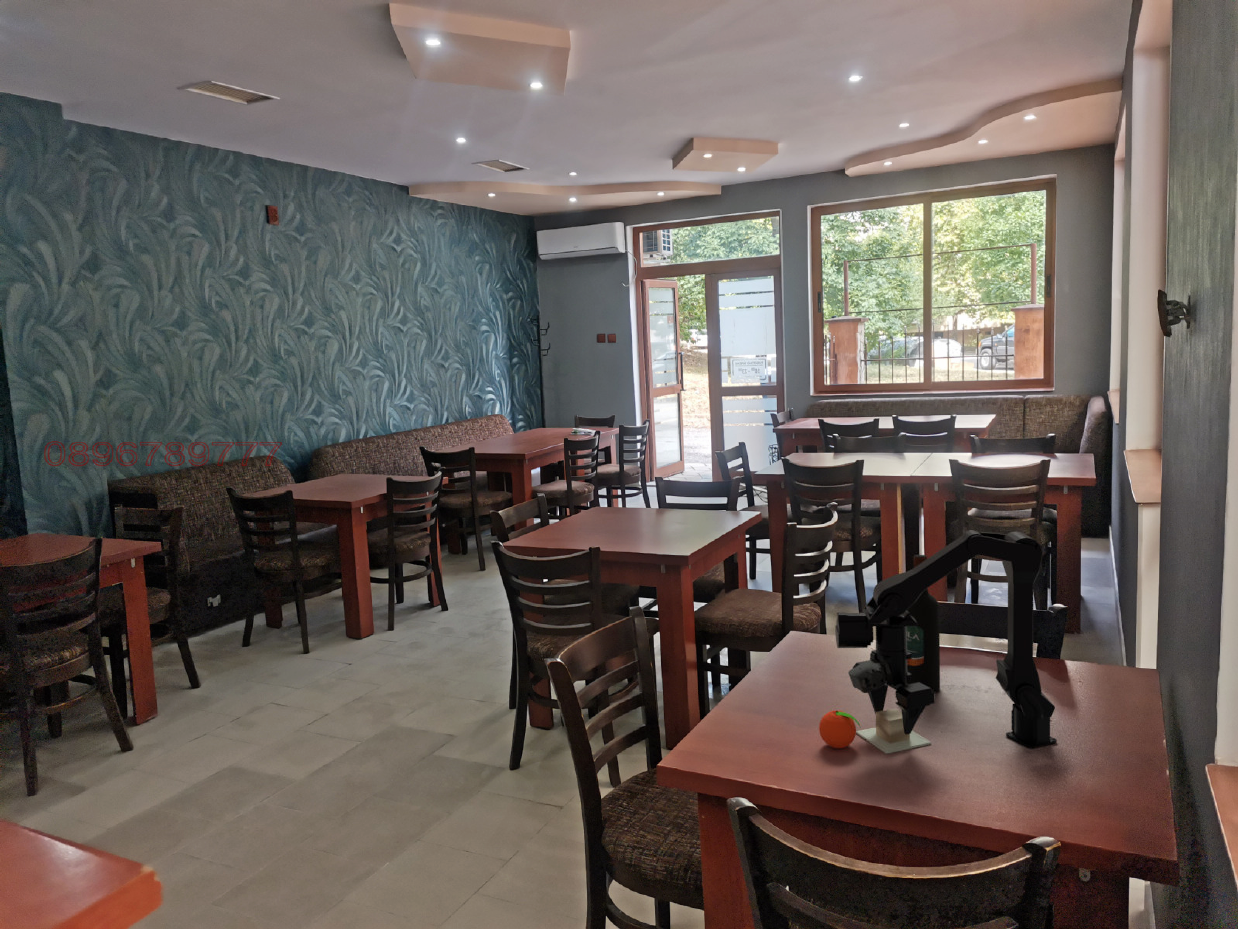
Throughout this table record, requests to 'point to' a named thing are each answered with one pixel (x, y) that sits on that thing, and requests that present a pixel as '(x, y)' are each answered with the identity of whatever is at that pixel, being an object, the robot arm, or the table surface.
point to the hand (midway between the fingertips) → (892, 725)
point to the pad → (896, 746)
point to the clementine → (837, 729)
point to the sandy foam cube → (890, 726)
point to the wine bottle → (924, 639)
